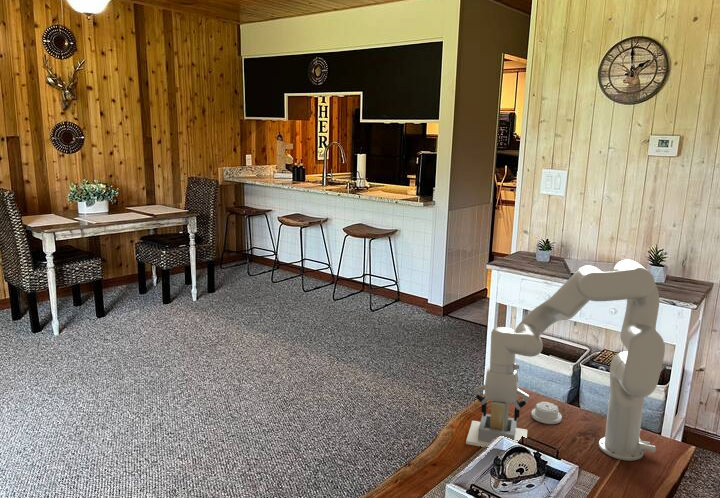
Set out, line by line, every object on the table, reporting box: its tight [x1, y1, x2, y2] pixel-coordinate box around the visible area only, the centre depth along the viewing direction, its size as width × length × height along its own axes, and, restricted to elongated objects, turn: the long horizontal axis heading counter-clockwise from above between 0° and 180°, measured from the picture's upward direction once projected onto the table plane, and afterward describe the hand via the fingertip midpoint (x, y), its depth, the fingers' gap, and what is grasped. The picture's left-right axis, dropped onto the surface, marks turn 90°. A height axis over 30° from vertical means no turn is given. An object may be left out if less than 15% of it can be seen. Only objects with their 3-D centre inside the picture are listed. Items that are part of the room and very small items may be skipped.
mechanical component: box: [531, 401, 563, 425], centre depth 194 cm, size 10×4×10 cm
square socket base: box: [465, 413, 528, 448], centre depth 180 cm, size 18×14×5 cm
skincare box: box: [490, 401, 510, 431], centre depth 179 cm, size 6×4×12 cm
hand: (500, 416), depth 178 cm, fingers open, 9 cm apart
